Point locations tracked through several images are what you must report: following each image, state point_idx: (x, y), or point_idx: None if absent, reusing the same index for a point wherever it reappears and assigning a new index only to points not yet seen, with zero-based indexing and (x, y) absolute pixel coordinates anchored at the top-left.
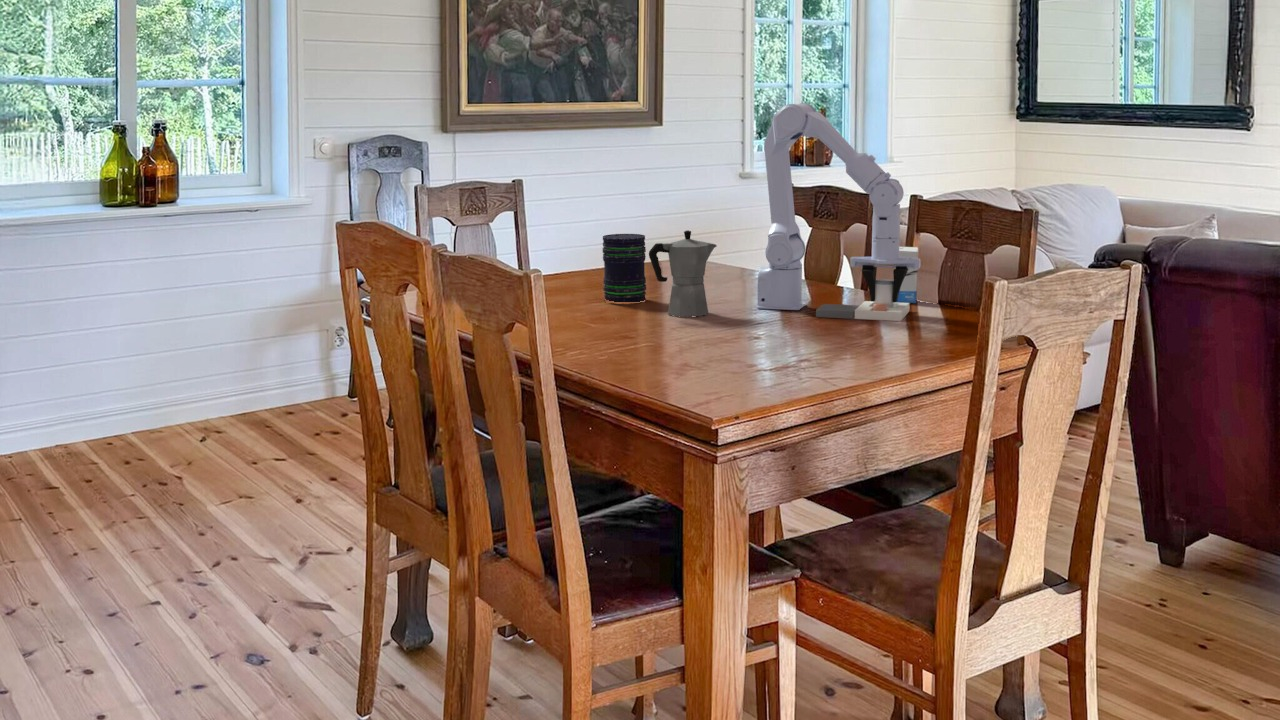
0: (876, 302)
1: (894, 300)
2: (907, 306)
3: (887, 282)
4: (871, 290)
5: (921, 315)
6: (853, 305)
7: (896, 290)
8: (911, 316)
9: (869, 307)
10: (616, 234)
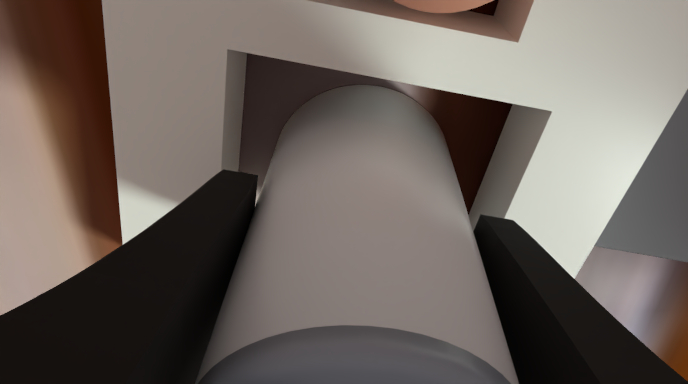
0: (454, 186)
1: (231, 178)
2: (126, 207)
3: (297, 372)
4: (570, 297)
5: (5, 92)
6: (670, 237)
7: (153, 239)
8: (83, 29)
9: (556, 49)
10: None
